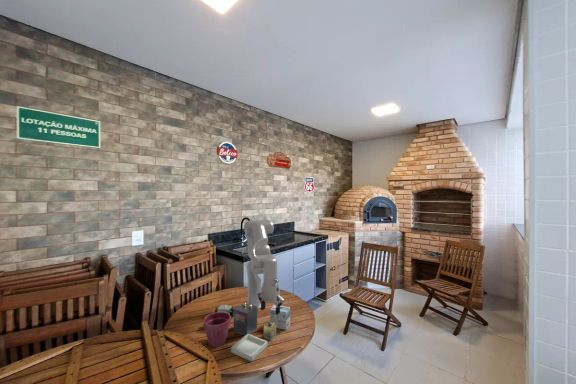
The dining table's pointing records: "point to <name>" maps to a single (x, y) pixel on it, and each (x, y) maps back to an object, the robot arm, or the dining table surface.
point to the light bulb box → (280, 317)
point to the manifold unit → (245, 319)
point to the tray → (249, 347)
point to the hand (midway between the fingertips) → (270, 311)
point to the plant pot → (217, 328)
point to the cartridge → (270, 330)
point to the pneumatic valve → (226, 309)
